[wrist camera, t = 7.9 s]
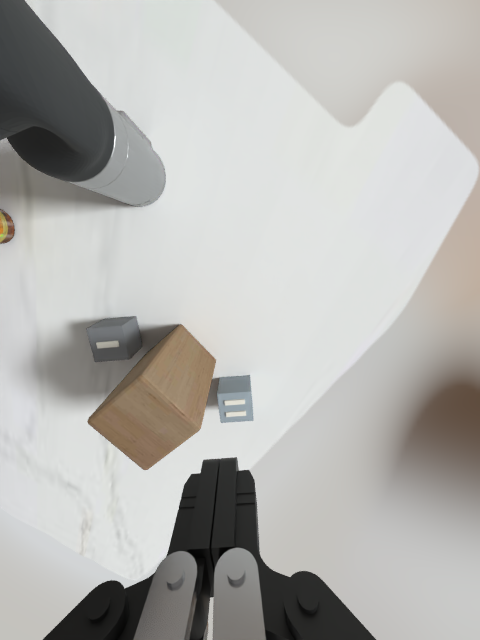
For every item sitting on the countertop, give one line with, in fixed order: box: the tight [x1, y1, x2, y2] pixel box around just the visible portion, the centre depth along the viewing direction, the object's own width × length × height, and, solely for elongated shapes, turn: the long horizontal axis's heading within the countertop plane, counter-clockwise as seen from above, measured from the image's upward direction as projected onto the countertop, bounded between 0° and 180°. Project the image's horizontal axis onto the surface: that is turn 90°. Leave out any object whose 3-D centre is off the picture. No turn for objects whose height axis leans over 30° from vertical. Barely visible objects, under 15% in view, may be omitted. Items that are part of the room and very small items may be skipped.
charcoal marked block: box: [86, 316, 142, 362], centre depth 46 cm, size 6×6×6 cm
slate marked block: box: [217, 375, 253, 423], centre depth 49 cm, size 6×6×6 cm
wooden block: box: [88, 325, 216, 470], centre depth 41 cm, size 10×10×20 cm
